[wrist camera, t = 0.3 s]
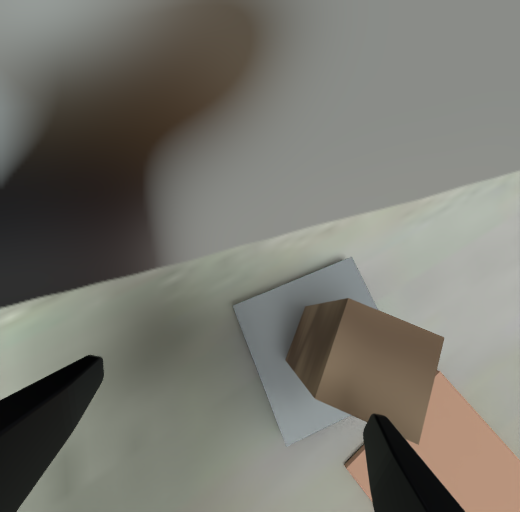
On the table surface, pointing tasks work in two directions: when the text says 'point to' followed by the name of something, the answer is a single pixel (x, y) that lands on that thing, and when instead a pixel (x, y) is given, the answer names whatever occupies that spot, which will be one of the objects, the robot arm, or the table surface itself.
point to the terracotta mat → (460, 454)
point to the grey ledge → (281, 336)
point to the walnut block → (366, 363)
